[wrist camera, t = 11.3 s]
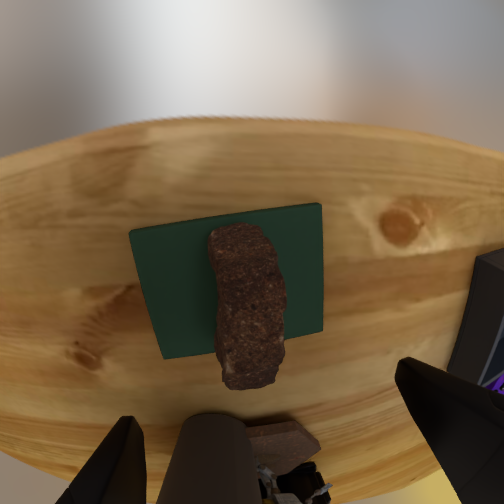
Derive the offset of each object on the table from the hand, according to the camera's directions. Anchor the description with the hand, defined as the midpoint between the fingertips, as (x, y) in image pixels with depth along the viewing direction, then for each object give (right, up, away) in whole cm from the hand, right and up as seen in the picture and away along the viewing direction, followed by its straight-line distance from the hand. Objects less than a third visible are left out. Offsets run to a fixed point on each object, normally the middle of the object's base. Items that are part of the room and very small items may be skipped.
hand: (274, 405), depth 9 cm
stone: (-2, +3, +8) cm, 9 cm away
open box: (+26, 0, +14) cm, 29 cm away
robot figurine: (0, -12, +13) cm, 18 cm away
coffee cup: (-4, -9, +12) cm, 15 cm away
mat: (-2, +3, +8) cm, 9 cm away
